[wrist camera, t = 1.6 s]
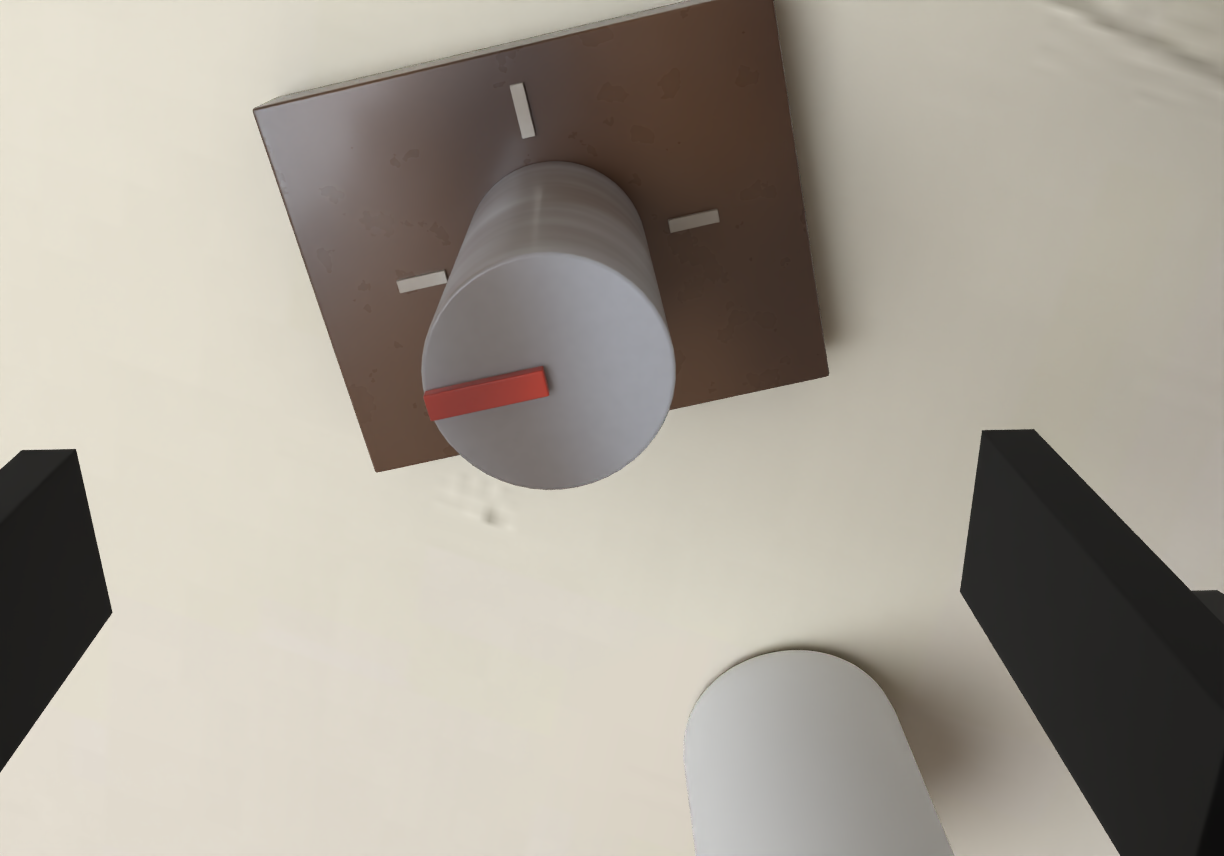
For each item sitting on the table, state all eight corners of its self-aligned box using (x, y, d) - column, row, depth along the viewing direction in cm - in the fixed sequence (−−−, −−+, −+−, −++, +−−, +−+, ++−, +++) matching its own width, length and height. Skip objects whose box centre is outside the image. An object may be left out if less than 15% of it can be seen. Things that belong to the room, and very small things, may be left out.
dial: (625, 142, 29) (649, 230, 20) (662, 315, 31) (698, 469, 22) (446, 183, 30) (386, 288, 20) (493, 352, 32) (458, 520, 22)
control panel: (757, -17, 30) (773, -14, 28) (813, 348, 35) (831, 378, 32) (274, 97, 31) (248, 109, 29) (387, 440, 36) (374, 476, 33)
